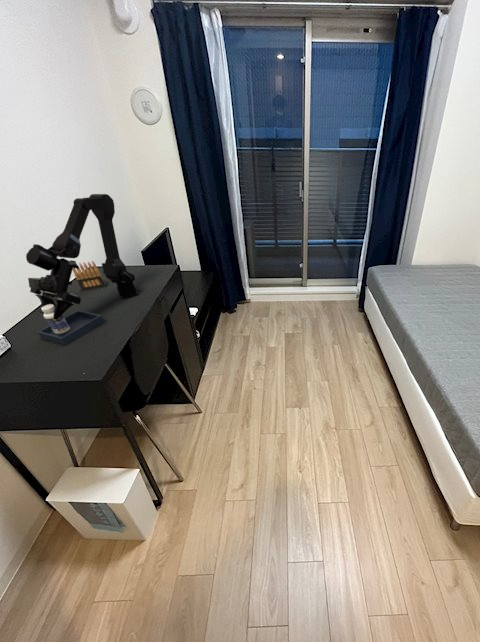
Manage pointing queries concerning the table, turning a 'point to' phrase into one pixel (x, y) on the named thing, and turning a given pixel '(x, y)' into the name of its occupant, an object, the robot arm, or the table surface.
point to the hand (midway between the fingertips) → (49, 318)
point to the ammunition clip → (89, 277)
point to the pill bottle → (56, 325)
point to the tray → (73, 327)
